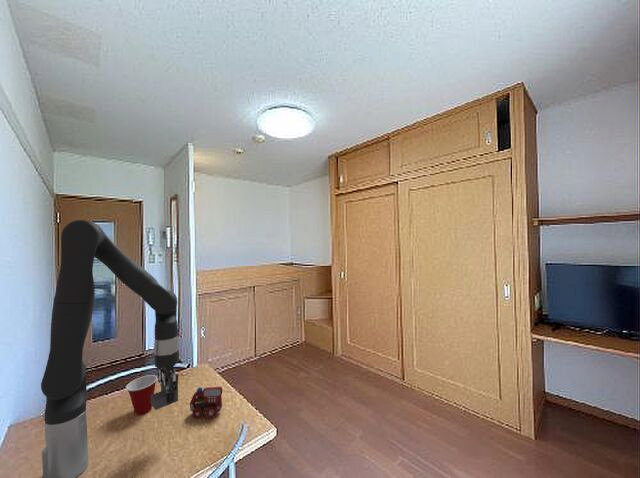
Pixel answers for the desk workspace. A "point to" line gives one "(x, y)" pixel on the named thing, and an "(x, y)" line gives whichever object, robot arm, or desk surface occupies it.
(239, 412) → the desk surface
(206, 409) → the toy fire truck
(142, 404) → the plastic cup
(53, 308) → the robot arm
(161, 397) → the grey stepped block
